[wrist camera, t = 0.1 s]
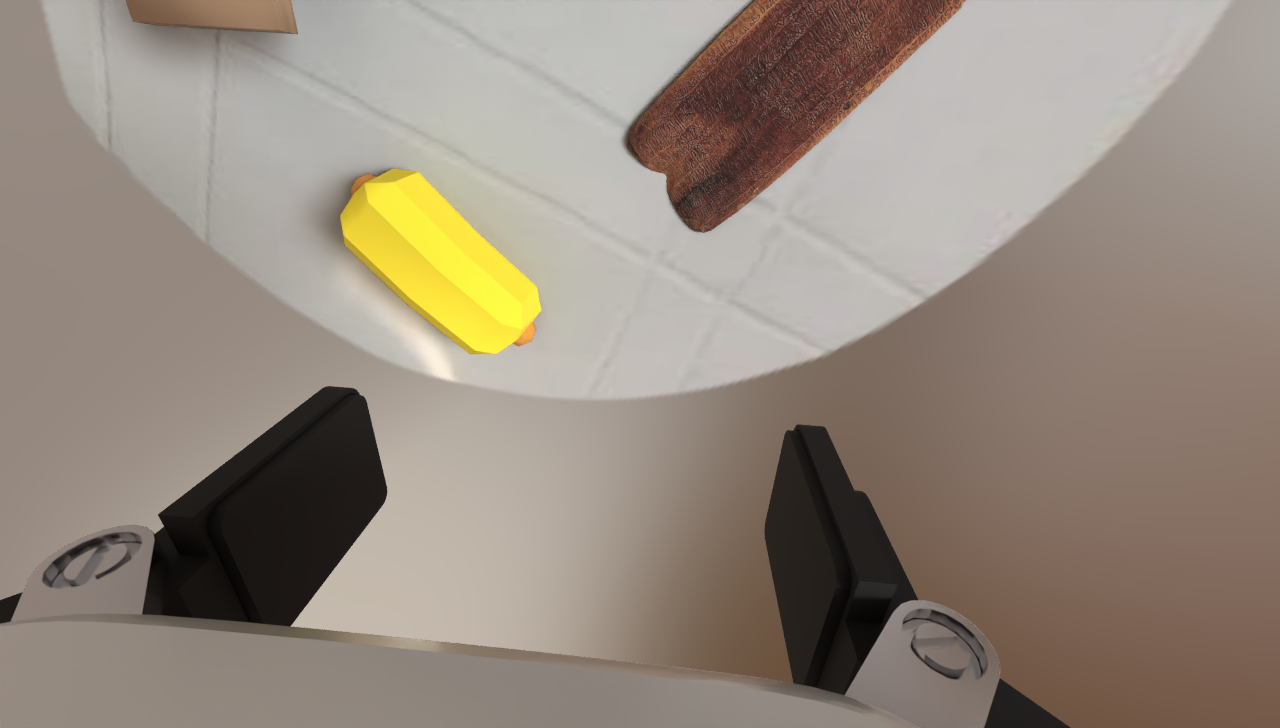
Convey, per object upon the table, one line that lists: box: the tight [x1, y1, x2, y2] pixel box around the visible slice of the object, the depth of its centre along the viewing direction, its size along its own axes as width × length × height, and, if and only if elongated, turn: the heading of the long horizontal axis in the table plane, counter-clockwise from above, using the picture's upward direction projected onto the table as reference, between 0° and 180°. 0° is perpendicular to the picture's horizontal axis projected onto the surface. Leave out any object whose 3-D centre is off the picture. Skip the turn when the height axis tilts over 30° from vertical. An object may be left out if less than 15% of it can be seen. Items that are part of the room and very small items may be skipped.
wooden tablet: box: [628, 0, 966, 233], centre depth 33 cm, size 26×2×10 cm
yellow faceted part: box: [340, 169, 541, 354], centre depth 39 cm, size 18×7×8 cm
